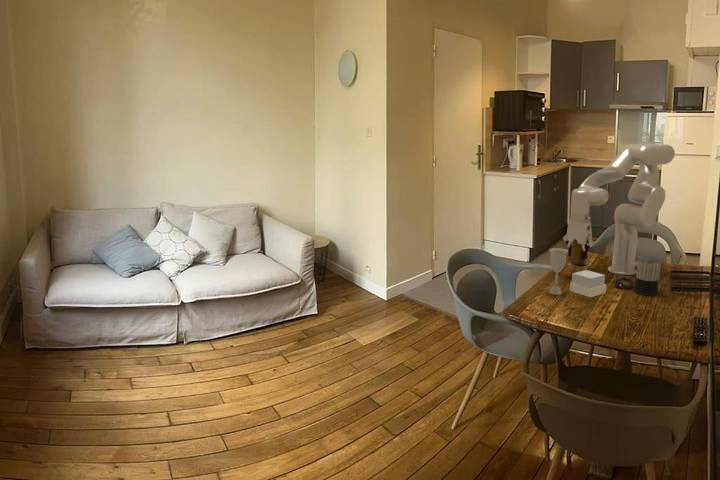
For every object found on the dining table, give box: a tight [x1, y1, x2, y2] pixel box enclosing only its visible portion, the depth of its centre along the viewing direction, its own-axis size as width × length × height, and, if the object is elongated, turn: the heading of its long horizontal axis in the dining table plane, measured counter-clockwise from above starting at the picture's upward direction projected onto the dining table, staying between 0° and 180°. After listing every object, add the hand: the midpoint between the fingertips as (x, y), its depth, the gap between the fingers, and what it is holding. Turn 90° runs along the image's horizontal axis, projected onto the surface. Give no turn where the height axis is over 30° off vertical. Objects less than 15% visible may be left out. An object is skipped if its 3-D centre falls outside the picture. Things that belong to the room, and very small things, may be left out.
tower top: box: [571, 269, 606, 288], centre depth 245 cm, size 9×9×4 cm
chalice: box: [548, 247, 568, 296], centre depth 243 cm, size 7×7×18 cm
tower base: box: [569, 281, 607, 298], centre depth 246 cm, size 10×10×4 cm
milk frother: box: [614, 254, 663, 297], centre depth 247 cm, size 14×16×15 cm
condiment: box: [566, 239, 593, 269], centre depth 261 cm, size 7×8×12 cm
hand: (577, 257), depth 263 cm, fingers closed on condiment, 6 cm apart
